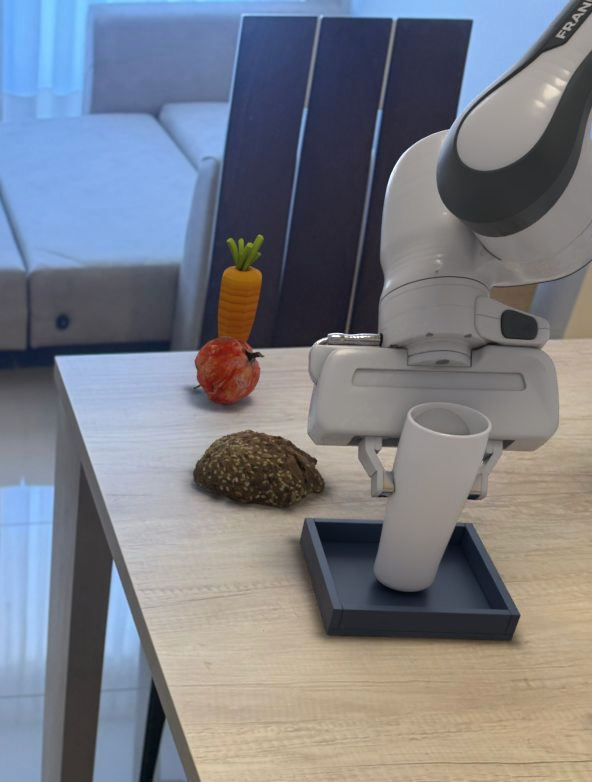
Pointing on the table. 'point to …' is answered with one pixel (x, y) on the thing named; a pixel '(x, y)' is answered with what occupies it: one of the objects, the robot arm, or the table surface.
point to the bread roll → (258, 470)
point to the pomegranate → (227, 369)
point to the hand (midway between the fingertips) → (428, 497)
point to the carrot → (240, 291)
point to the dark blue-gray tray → (397, 608)
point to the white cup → (427, 496)
